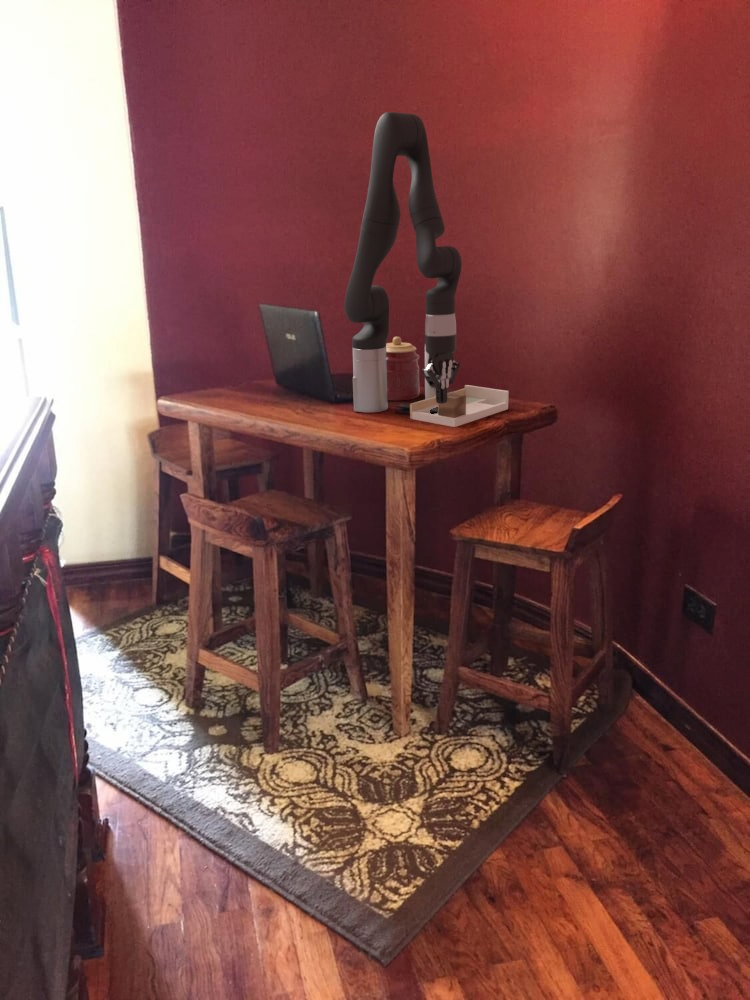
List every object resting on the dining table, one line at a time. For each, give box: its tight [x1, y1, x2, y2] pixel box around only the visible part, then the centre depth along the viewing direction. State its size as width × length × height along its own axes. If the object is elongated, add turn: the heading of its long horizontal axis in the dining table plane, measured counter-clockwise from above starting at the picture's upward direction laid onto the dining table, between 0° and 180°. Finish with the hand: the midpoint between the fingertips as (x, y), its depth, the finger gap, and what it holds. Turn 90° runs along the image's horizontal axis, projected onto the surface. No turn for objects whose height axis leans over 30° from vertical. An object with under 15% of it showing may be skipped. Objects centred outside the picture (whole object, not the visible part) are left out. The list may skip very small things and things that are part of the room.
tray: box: [409, 384, 510, 428], centre depth 208 cm, size 24×15×5 cm, turn 137°
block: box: [437, 392, 466, 418], centre depth 199 cm, size 5×5×5 cm
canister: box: [386, 336, 421, 402], centre depth 228 cm, size 13×13×18 cm
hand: (441, 402), depth 194 cm, fingers closed
